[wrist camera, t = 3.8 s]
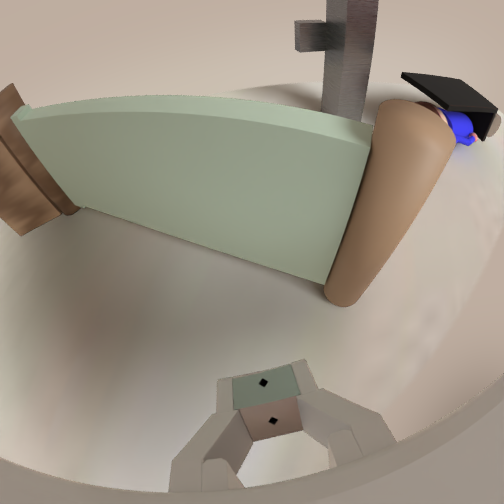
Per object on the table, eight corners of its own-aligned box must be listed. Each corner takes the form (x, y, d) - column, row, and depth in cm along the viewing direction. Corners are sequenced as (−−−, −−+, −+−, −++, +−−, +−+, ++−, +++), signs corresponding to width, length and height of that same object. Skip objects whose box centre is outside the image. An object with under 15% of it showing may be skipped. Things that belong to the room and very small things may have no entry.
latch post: (312, 134, 24) (317, -9, 12) (295, 113, 26) (293, -14, 14) (359, 125, 25) (378, -2, 12) (339, 105, 27) (349, -11, 14)
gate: (74, 213, 22) (1, 118, 11) (88, 193, 23) (23, 96, 12) (356, 311, 16) (461, 164, 5) (364, 276, 17) (449, 117, 6)
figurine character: (451, 123, 28) (380, 125, 24) (471, 80, 21) (401, 62, 18) (485, 156, 24) (424, 169, 21) (510, 113, 18) (457, 103, 15)
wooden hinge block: (19, 241, 22) (-61, 157, 9) (24, 220, 23) (-47, 137, 11) (84, 208, 22) (3, 93, 10) (86, 186, 24) (18, 78, 12)
